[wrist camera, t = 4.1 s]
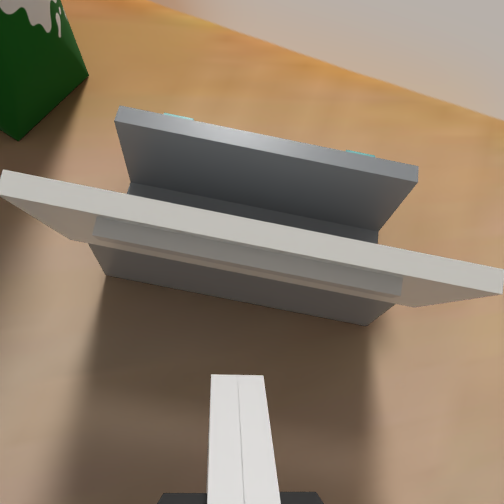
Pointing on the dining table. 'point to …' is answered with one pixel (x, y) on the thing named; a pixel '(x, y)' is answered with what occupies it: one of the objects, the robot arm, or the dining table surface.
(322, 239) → the cover
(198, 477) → the dining table surface
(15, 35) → the milk carton
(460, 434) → the dining table surface
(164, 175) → the stand
